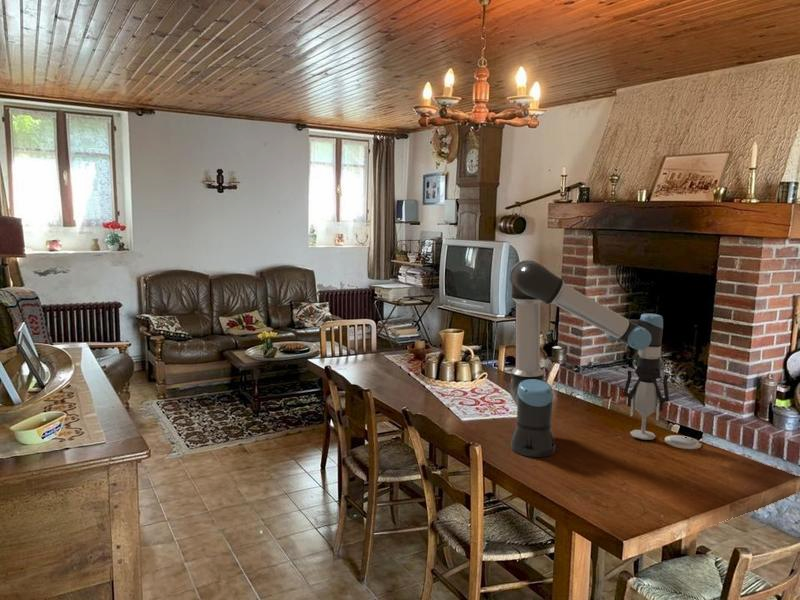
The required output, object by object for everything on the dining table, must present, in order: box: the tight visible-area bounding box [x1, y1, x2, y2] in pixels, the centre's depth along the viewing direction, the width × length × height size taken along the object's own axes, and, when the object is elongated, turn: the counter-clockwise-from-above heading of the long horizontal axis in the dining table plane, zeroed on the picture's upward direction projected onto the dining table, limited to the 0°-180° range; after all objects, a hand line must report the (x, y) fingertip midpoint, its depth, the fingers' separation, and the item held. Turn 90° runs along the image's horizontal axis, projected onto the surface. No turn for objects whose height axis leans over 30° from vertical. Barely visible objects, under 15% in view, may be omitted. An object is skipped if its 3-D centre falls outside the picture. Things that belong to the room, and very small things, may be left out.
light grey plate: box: [664, 434, 702, 450], centre depth 215 cm, size 12×12×1 cm
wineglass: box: [629, 381, 659, 441], centre depth 219 cm, size 9×9×21 cm
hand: (644, 417), depth 219 cm, fingers closed on wineglass, 8 cm apart
